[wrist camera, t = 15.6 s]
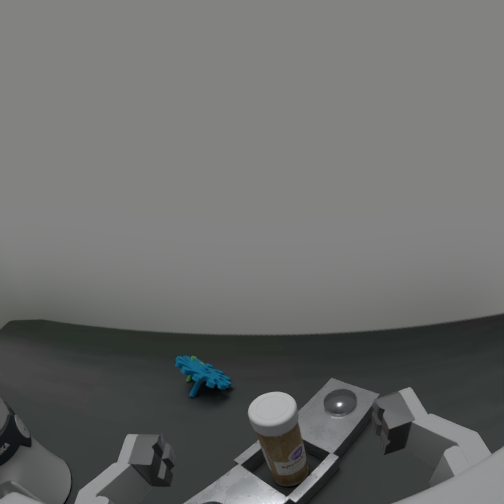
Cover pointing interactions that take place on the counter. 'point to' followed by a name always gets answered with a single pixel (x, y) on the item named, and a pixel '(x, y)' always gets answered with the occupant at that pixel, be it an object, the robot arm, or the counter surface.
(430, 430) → the robot arm
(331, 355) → the counter surface
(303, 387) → the counter surface
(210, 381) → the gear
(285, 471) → the sprinkles bottle
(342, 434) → the grey long flat block
